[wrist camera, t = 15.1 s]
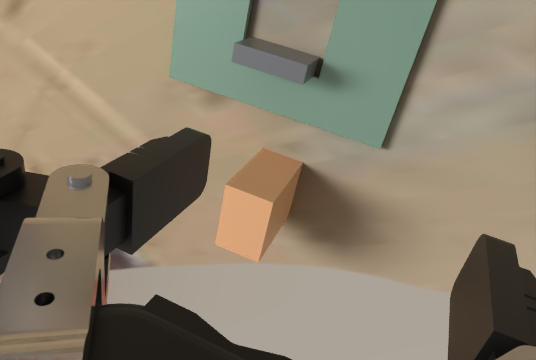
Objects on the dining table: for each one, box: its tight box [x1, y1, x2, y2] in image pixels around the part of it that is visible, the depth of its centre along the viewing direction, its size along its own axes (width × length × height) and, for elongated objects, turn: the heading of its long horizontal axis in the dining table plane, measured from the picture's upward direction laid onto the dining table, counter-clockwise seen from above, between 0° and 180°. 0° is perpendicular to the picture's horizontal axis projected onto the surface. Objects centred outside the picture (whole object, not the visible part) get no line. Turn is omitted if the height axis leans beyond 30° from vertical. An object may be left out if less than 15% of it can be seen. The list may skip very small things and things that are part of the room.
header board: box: [169, 0, 437, 149], centre depth 31 cm, size 20×18×4 cm
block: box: [215, 149, 303, 262], centre depth 37 cm, size 4×6×8 cm, turn 167°
